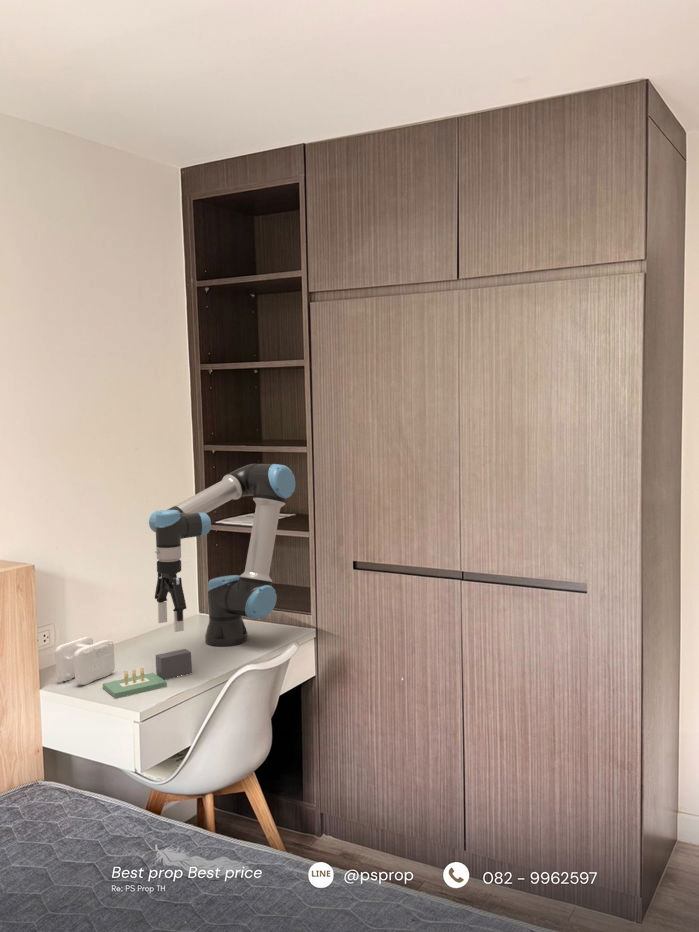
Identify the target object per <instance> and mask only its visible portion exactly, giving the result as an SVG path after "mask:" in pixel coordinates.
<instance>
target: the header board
mask: <svg viewBox="0 0 699 932" xmlns="http://www.w3.org/2000/svg"><path fill="white" fill-rule="evenodd" d="M139 670H140V675H137V672H136V671H137V670H136V669H135V668H134V669H132V670H131V671H132V676H131V677H129V674H128V673H129V672H128V670H125V671H124V673H123V675H124V676H123V677H124V678H122V679H117V680H113V681H109V682H104V683H102V689H103V690H104V691H105V690H106V691H105V692H106V693H108V694H109V695H110V694H111V695H112V696H111V695H110V696H111V697H113V698H114V699H119V698H123V696H124V697H128V696H132V695H137V694H140V693H145V692H149V691H153V690H157V689H162V687H163V688H166V686H167V687H168V684H167V681H166V680H163V679H162V678H160V677H159V676H157V674H156V673H155V672H150V673H145V672H144V671H145V669H144V667H140V668H139ZM131 694H132V695H131ZM127 695H128V696H127Z"/></svg>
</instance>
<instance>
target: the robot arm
mask: <svg viewBox="0 0 699 932" xmlns="http://www.w3.org/2000/svg"><path fill="white" fill-rule="evenodd" d="M295 489H296V478H295V475H294V473H293V471H292V470H291V469H290V468H289V467H288V466H287V465H284V464H276V463H250V464H247V465H244V466H242V467H240V468H236V469H235V470H234V471H231V472H229V473H227V474H226V475H224V476H223V477H222V479H221V480H220V481H219V482H217V483H214V484H213V485H211V486H209V487H207V488H204V489H203V490H202V491H199V492H198V493H196V494H194V495H193V496H192V495H191V496H190V497H188V498H187V499H185V500H183V501H181V502H179V503H178V504H175V505H174V506H171V507H170V508H167V509H163V510H155V511H154V512H152V513H151V514H150V516H149V519H148V525H149V528H150V529H151V531H152V532H154V533H155V541H156V545H155V546H156V550H155V552H154V553H155V554H156V560H157V561H156V573H157V581H156V587H155V593H154V599H155V600H156V602H157V617H158V618H157V621H158V624H163V623H168V607H167V606H168V605H167V604H168V603H167V601H168V598H167V596H168V594H170V597H171V600H172V601H171V602H172V603H173V606H174V607H173V609H172V611H173V623H174V625H173V626H174V627H173V628H174V629H173V631H174V632H175V633H177V632H182V631H185V629H184V626H185V625H184V610H187V604H186V598H185V594H184V589H183V581H182V577H177V576H178V573H180V572H181V571H182V560H181V559H182V542H181V541H182V540H183V539H189V538H196V537H200V538H201V537H202V536H205V535H208V534H209V532H210V531H211V529H212V521H211V518H210V516H209V515H208V513H210V512H211V511H214V510H215V509H217V508H219V507H220V506H222V505H224V504H225V503H227V502H229V501H231V500H239V499H241V498H242V497H250V496H252V500H253V501H254V503H255V512H254V516H253V521H252V527H251V533H250V540H249V544H248V545H249V546H248V549H247V555H246V556H247V557H246V562H245V568H244V571H243V572H242V573H241V574H240V575H238V574H237V575H236V574H234V575H233V574H231V575H222V576H218V577H214V578H211V579H209V581H208V583H207V600H208V604H207V605H208V616H209V618H208V624H207V627H206V628H207V629H206V632H205V635H204V639H205V640H204V642H205V643H206V644H207V645H209V646H213V647H230V646H236V645H237V646H238V645H240V644H243V643H245V642H247V641H248V639H249V637H248V636H249V635H248V634H249V633H248V631H247V627H246V625H245V622H244V619H243V617H247V618H250V619H263V618H266V617H267V616H269V615H270V614H271V613H272V612H273V610H274V609H275V606H276V604H277V597H278V595H277V593H276V590H275V588H274V587H273V585H272V584H273V580H272V578H271V577H270V571H271V565H272V559H273V554H274V549H275V541H276V536H277V535H276V534H277V531H278V524H279V517H280V512H281V508H282V507H284V506H286V502H287V499H288V498H290V497H292V495H293V494H294V492H295Z"/></svg>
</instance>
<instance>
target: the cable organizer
mask: <svg viewBox="0 0 699 932" xmlns="http://www.w3.org/2000/svg"><path fill="white" fill-rule="evenodd" d="M54 652H55V653H54V655H55V657H54V658H55V672H56V674H55V677H56V679H57V680H58V681H62V682H63V681H66V682H68V681H67V680H69V681H71V680H73V679H74V680H75V681H74V682H75V683H76V684H77V685H78V684H79V685H82V686H86V685H89V684H92V682H93V681H96V680H99V679H100V680H101V679H103V677H104V678H106V677H108V675H111V674H113V672H114V671H115V669H116V664H115V647H114V641H113V640H110V639H104V640H100V641H98V642H94V639H93V638H92V637H89V636H84V637H81V638H79V639H75V640H73V641H70V642H66V643H64V644H63V643H62V644H60V645H59V646H57V647H56V648H55V651H54ZM72 678H73V679H72ZM70 679H71V680H70Z"/></svg>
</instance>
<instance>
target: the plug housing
mask: <svg viewBox="0 0 699 932" xmlns="http://www.w3.org/2000/svg"><path fill="white" fill-rule="evenodd" d="M192 663H193V662H192V651H190V650H188V649H187V648H183V649H177V650H173V651H172V650H171V651H168V652H163V653H159V654H155V670H156V672H155V674H156V675H157V676H159V677H160V678H162V679H163V680H165V679H166V680H170V679H169V678H171V679H174V678H173V677H175V678H178V677H177V676H180V677H182V676H181V675H184V676H187V675H186V674H188V675H191V674H190V673H192V674H193V668H192V667H193V664H192ZM166 680H165V681H166Z"/></svg>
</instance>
